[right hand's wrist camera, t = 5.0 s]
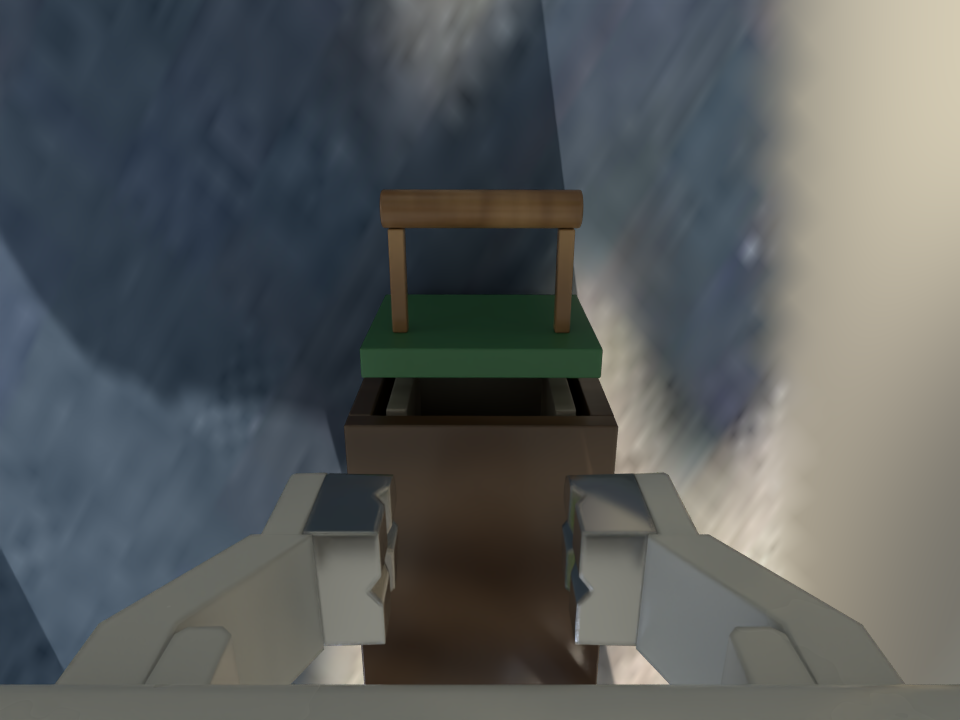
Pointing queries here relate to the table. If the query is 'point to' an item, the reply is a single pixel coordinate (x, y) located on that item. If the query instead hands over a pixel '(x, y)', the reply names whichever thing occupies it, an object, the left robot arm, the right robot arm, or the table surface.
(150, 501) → the table surface
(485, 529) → the brown wooden box
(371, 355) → the drawer
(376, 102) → the table surface
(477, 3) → the table surface
